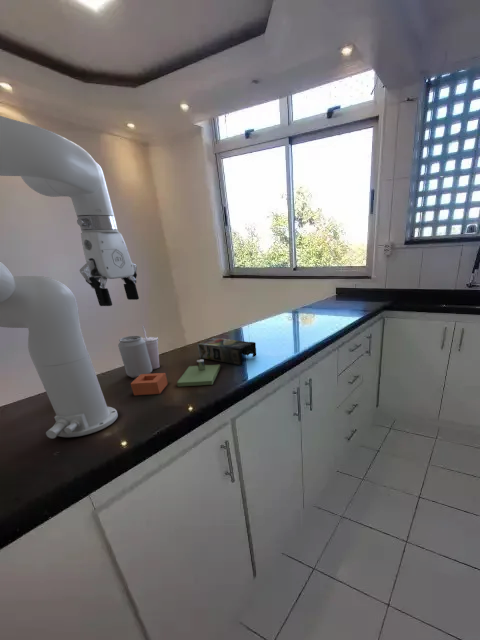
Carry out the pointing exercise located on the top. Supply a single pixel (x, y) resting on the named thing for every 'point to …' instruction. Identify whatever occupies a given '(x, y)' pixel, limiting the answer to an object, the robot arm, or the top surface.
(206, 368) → the base pad
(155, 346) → the smoothie
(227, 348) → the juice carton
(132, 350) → the can
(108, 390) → the top surface
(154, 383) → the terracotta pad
